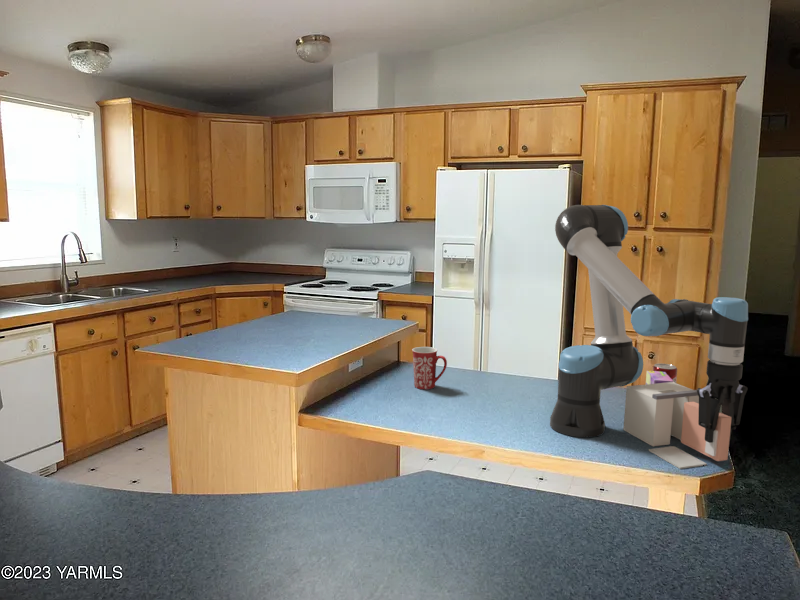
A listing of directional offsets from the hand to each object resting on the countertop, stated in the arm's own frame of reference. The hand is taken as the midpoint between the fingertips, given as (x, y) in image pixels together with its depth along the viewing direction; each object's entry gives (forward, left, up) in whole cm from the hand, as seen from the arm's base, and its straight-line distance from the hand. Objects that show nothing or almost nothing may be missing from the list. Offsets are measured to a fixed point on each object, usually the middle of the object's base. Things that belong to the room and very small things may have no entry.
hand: (716, 452), depth 141 cm
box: (+12, +35, -3) cm, 37 cm away
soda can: (+21, +43, -3) cm, 48 cm away
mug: (-49, +77, -3) cm, 91 cm away
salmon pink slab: (0, +4, -1) cm, 4 cm away
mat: (-7, +5, -3) cm, 9 cm away
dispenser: (0, +19, -3) cm, 19 cm away
